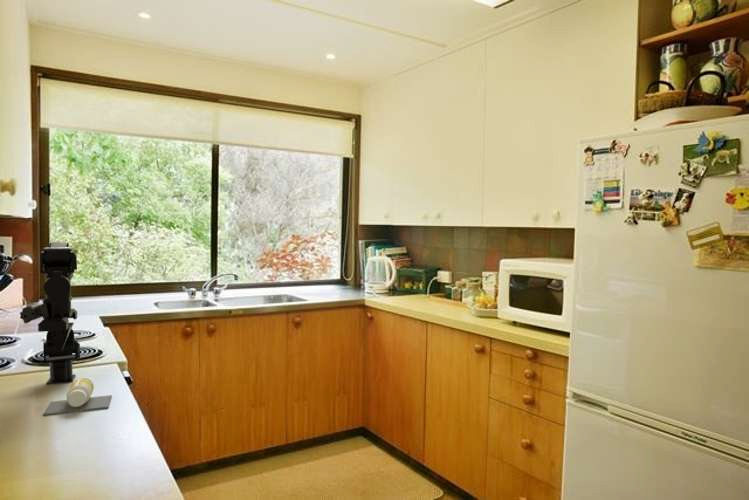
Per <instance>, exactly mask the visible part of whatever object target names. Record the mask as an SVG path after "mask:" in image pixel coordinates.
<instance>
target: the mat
mask: <svg viewBox="0 0 749 500" xmlns="http://www.w3.org/2000/svg"><path fill="white" fill-rule="evenodd" d="M112 397H113V396H112V395H111V394H110V395H102V396H93V397H91V396H90V399H89V400H88V401H87V402H86V403H85V404H83V405H81V406H78V407H73V406H71V405H70V404H69V403H68V400H67V399H63V400H54V401H50V402H49V404H48V405H47V407H46V409H45V410H44V412H43V413H42V416H43V417H45V416H46V417H47V416H53V415H65V414H70V413H72V414H73V413H80V412H88V411H89V412H90V411H96V410H97V411H98V410H107V409H109V407H110V403H111V400H112Z"/></svg>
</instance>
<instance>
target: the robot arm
mask: <svg viewBox="0 0 749 500" xmlns="http://www.w3.org/2000/svg"><path fill="white" fill-rule="evenodd" d="M48 245H49V247H43V251H40V265H39V267H40V268H39V270H40V271H39V274H40V275H46V276H45V281H44V285H43V292H44V293H45V298H44V299H43V300H42V303H41V304H37V305H35V306H32V305H28V306H25V307H23V308H22V310H21V311H20V312H19V315H20V317H19V318H20V319H21V320H22V322H23V323H24V324H28V323H30V322H32V321H35V320H37V319H40V318H42V320H41V321H39V323H38V324H37V331H38V332H41V333H42V332H47V333H46V335H45V337H46V338H45V339H46V340H45V341H44V342H43V346H42V347H43V348H42V349H43V363H44V364H47V363H49V379H48V380H47V381H46V384H47V385H53V384H63V383H64V384H65V383H73V382H74V381H75V379H76V374H73V371H74V369H73V361H74V360H78V359H81V343H80V342H79V341H78V339H77V338H75V331H74V330H73V326H74V324H75V323H74V322H69V319H73V320H77V319H78V311H77V310H76V309H75V308H72V300H73V296H72V290H71V289H72V286H71V285H72V284H71V283H72V282H71V280H72V279H73V277H74V273H75V271H77V270H78V260H77V258H78V257H77V254H76V252H75V251H74V250H73V249H72V248H71V246H69V245H70V242H67V241H51V242H49V243H48Z"/></svg>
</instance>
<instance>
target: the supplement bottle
mask: <svg viewBox="0 0 749 500" xmlns="http://www.w3.org/2000/svg"><path fill="white" fill-rule="evenodd" d="M94 388H95V386H94V382H93V381H92V380H91V379H90V378H88V377H79V378H77V379H76V380H75V379H74V380H73V381H72V382H71V385H70V387H69V389H68V390H67V393H66V400H68V403H69V404H70V405H71V406H73V407H78V406H81V405H83V404H85V403H86V402H87V401H88V400H89V399H90V397H91V396H92V394H93V392H94Z"/></svg>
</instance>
